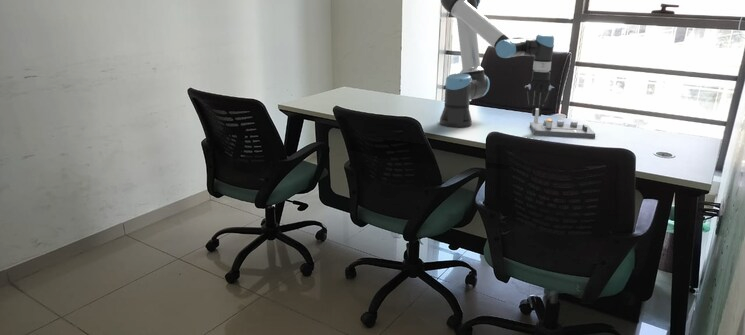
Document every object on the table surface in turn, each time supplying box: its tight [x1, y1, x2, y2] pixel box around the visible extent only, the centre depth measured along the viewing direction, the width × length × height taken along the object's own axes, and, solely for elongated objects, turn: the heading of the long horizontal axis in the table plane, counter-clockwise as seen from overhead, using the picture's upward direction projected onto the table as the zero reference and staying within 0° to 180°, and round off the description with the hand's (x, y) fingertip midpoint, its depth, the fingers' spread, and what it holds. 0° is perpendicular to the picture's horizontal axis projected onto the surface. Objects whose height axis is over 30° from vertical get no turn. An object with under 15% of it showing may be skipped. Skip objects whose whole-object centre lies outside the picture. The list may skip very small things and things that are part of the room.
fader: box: [546, 118, 553, 128], centre depth 241 cm, size 2×4×3 cm, turn 170°
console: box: [529, 119, 596, 139], centre depth 242 cm, size 26×16×4 cm, turn 80°
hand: (535, 123), depth 242 cm, fingers closed
